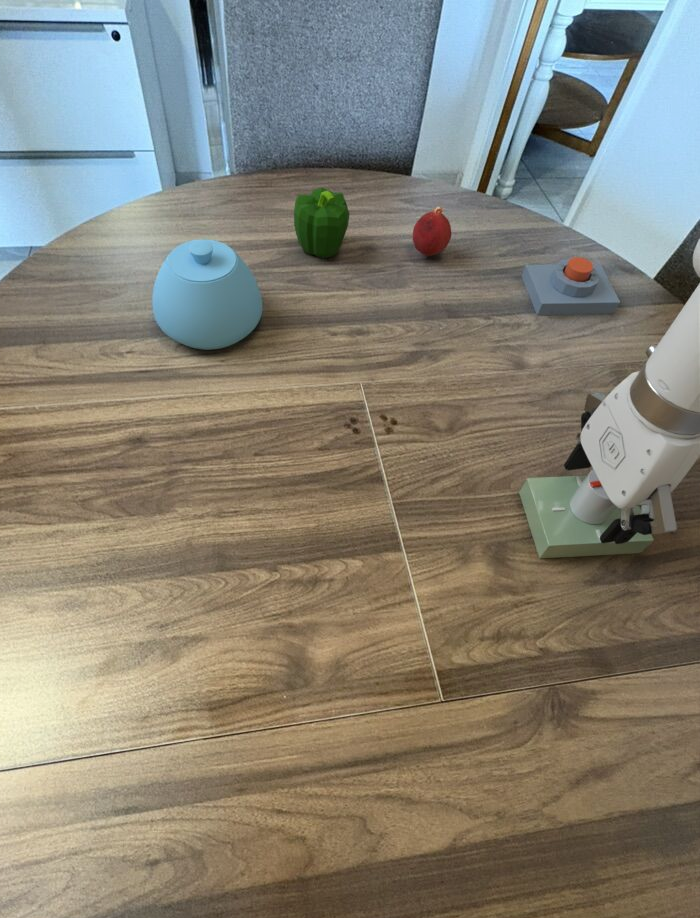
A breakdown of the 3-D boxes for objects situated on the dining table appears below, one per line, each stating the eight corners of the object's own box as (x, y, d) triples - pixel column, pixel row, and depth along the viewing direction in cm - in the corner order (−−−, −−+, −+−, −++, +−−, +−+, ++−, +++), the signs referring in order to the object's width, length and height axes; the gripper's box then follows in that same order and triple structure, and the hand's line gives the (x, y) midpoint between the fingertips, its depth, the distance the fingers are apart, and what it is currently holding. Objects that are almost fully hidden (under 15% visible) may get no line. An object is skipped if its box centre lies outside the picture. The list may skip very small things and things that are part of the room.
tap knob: (598, 489, 71) (619, 461, 66) (615, 521, 68) (638, 495, 64) (563, 494, 70) (582, 467, 65) (579, 527, 68) (600, 501, 63)
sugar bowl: (282, 331, 86) (282, 259, 77) (187, 372, 81) (174, 300, 72) (229, 273, 93) (223, 199, 83) (137, 307, 88) (119, 233, 78)
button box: (594, 275, 97) (605, 253, 93) (613, 314, 92) (626, 292, 89) (521, 276, 96) (529, 254, 92) (536, 315, 91) (546, 293, 88)
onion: (427, 271, 95) (438, 224, 88) (401, 253, 97) (410, 205, 91) (452, 257, 97) (465, 210, 91) (426, 239, 100) (436, 192, 93)
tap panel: (614, 488, 75) (626, 472, 72) (640, 553, 70) (654, 539, 67) (518, 492, 74) (527, 476, 71) (539, 558, 69) (549, 545, 66)
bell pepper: (291, 233, 99) (291, 171, 90) (341, 232, 100) (347, 170, 91) (295, 266, 94) (297, 204, 86) (348, 264, 95) (355, 203, 87)
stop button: (584, 267, 92) (588, 256, 90) (591, 282, 90) (596, 272, 88) (560, 267, 92) (565, 257, 90) (568, 282, 90) (572, 272, 88)
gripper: (597, 331, 58) (534, 444, 72) (688, 480, 49) (595, 576, 63) (669, 324, 59) (592, 437, 73) (771, 469, 50) (661, 565, 64)
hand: (594, 501), depth 68 cm, fingers open, 9 cm apart
